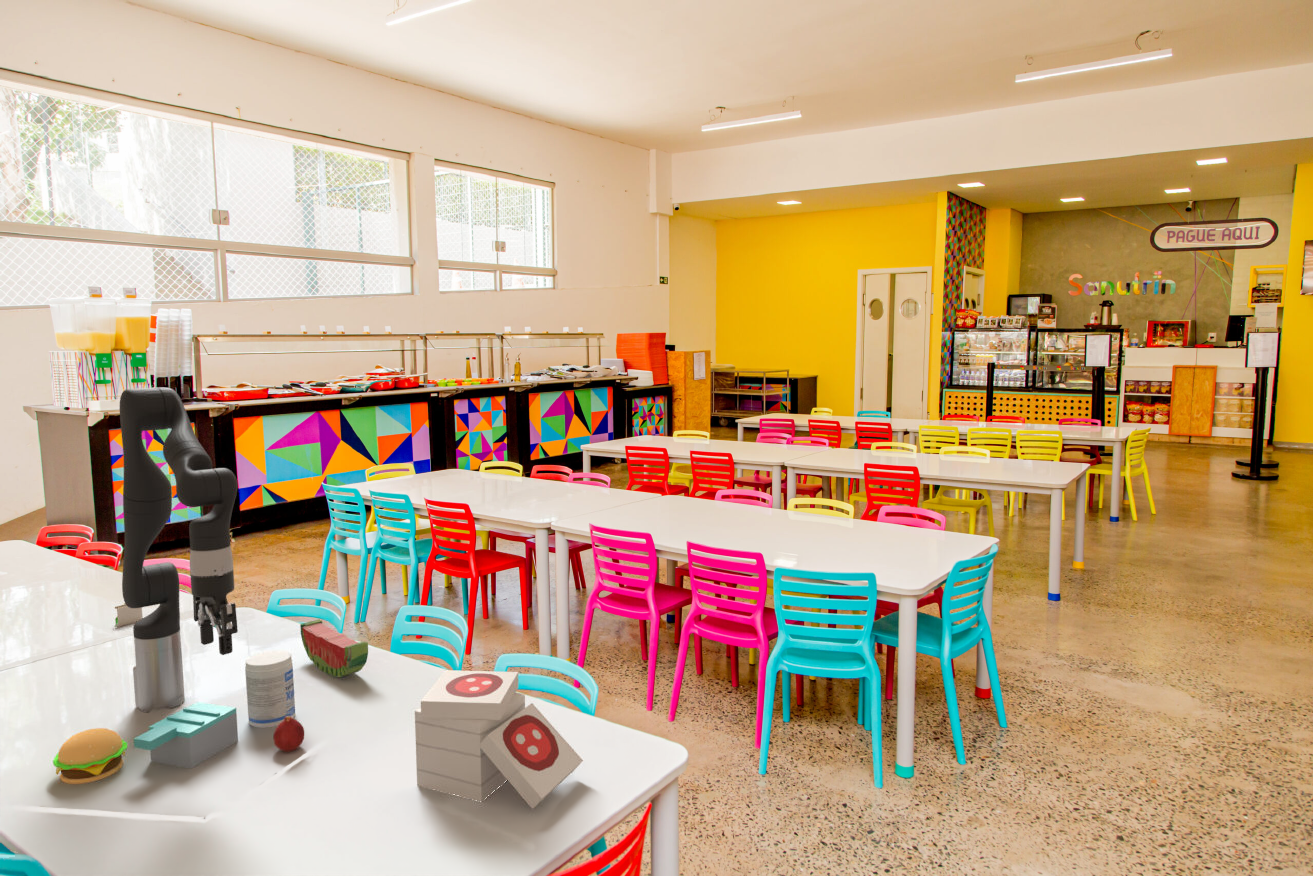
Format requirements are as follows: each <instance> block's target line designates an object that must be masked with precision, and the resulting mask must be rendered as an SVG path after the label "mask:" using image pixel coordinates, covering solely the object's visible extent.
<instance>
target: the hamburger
mask: <svg viewBox="0 0 1313 876" xmlns="http://www.w3.org/2000/svg"><path fill="white" fill-rule="evenodd" d="M127 749H128V742H127V741H125V740H124V739H123V738H122V737H121V736H120V735H119V733H118V732H116V731H114V730H111V729H109V728H106V727H105V728H104V727H101V728H100V727H97V728H89V729H86V730H83V731H80V732H77V733H76V734H74V735H72V736H70V737H69V738H68V739H67V740H65V742H63V744H62V745H61V746H60V748H59V749H58V752H57V753H56V755H55V756H54V758H53V760H52V763H53V766H54V767H55V774H56V776H57V775H59V773H60V776H59V778H60V780H61V781H62V782H63V783H65V784H71V785H78V784H81V785H82V784H87V783H92V782H96V781H100V780H103V779H105V778H107V777H110V776H112V775H113V774H116V773H117V772H118V771H119V770H121V768H122V767H123V764H124V760H123V756H124V757H125V756H126V752H125V751H126V750H127Z"/></svg>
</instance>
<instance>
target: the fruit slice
mask: <svg viewBox="0 0 1313 876" xmlns="http://www.w3.org/2000/svg"><path fill="white" fill-rule="evenodd" d="M299 628H300V635H301V641H302V645H303V647H304V650H305V652H306V655H307V657H308V659H309V660H310V661H312V663H313V664H314V665H315V666H316V668H317V669H318V670H319V671H321V672H323V673H324V672H325V673H324V674H326V673H327V674H326V675H329V676H333V677H334V678H343V677H345V676H348V675H349V676H350V675H353V674H355V673H358V672H360V671H361V670H363V668H364V667H365V665H366V663H367V659H368V656H369V643H368V642H367V641H366V642H365V641H361V642H358V641H356V640H355V639H352V638H349V637H347V635H345V634H344V633H341V632H338V631H336V630H334V629H332V628H330V627H329V626H326V625H325V624H323V620H321V619H320V618H319V619H316V620H312V621H308V622H307V621H306V622H302V623H300V627H299Z"/></svg>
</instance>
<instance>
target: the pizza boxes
mask: <svg viewBox="0 0 1313 876" xmlns="http://www.w3.org/2000/svg"><path fill="white" fill-rule="evenodd" d="M518 689H519V672H518V671H496V670H495V671H492V670H491V671H489V670H456V669H455V670H451V669H446V670H444V672H442V674H441V675H440V677H439V678H438V679H437V680H436V682H435V683H434V684H433V685H432V686H431V688H430V689H429V690H428V692H427V693H426V694H425V696H423V698H422V699H421V700H420V707H419V708H417V709H416V710H414V727H415V728H414V730H415V731H414V732H415V734H414V735H415V755H416V760H415V761H416V763H415V764H416V785H419V786H418V787H421V786H422V787H421V788H426V789H428V788H430V789H429V790H432V789H435V790H434V791H436V790H438V791H437V792H440V791H442V792H441V793H443V792H445V793H444V794H447V793H450V794H449V795H451V794H455V795H459V796H461V797H460V798H462V797H465V798H469V799H473V800H477V801H481V802H482V801H483V800H484V799H485V798H486V797H488V795H490V794H491V793H492V792H493V791H494V790H496V789H497V788H498V787H499V786H501V785H502V784H503V783H504V782H505V781H506V780H508V781H507V782H509V784H511V786H512V787H514V789H515V790H516V792H517V793H518V794H519V795H520V796H521V797H522V798H523V799H524V800H525V802H526V804H527V805H528V806H529V807H530V808H531V809H535V807H537V806H538V805H539V804H540V803H542V801H543V800H544V799H545V798H546V797H547V796H549V795H550V794H551V793H552V792H553V791H554V790H555V789H556V788H558V786H559V785H560V784H561V783H562V782H563V781H565V779H566V778H567V777H569V776H570V775H571V774H572V773H573V772H574V771H575V770H576V769H578V767H579V766H580V765H581V764H582V762H583V761H584V760H583V759H582V757H581V756H580V755H579V754H578V753H577V752H576V751H575V750H574V748H572V747H573V746H571V745H570V744H569V742H567V741H566V739H565V738H564V737H563V736H562V735H561V734H560V732H559V731H558V730H557V729H556V728H555V727H554V726H553V725H552V724H551V722H550V721H549V720H548V719H547V718H546V716H544V714H543V713H541V712H540V710H539V709H538V708H537V707H536V706H535V704H534V703H533V702H532V703H530V704H529V705H527V706H526V695H525V693H518V692H517V690H518ZM503 785H504V784H503ZM503 785H502V786H503ZM502 786H501V787H502ZM497 790H498V789H497ZM497 790H496V791H497ZM491 795H492V794H491ZM491 795H490V796H491ZM465 798H464V799H465ZM488 798H489V797H488ZM469 799H468V800H469ZM473 800H472V801H473ZM477 801H476V802H477ZM484 801H485V800H484ZM484 801H483V802H484ZM483 802H482V803H483Z"/></svg>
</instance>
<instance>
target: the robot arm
mask: <svg viewBox="0 0 1313 876" xmlns="http://www.w3.org/2000/svg"><path fill="white" fill-rule="evenodd" d="M119 420H120V422H119V423H120V431H121V441H122V443H121V444H122V453H123V486H122V504H123V505H122V506H123V507H122V509H123V511H122V512H123V528H124V529H123V530H124V548H123V549H124V551H123V564H122V565H123V566H122V575H121V576H122V579H121V580H122V581H121V587H122V588H121V589H122V598H123V603H125V604H126V605H127V606H128V607H129V608H141V607H142V608H146V607H152V606H156V605H158V607H157V608H156V609H155V610H153V611H152V612H151V613H150V614H148V615H146V616H144V617H142V619H141V620H139V621H137V622H134V624H133V627H132V628H133V630H132V632H133V643H134V656H135V657H134V658H135V666H133V668H132V675H133V677H132V678H133V689H134V702H135V708H138V709H139V710H140V711H141V712H144V713H151V712H152V711H155V710H162V709H169V710H171V709H174V708H176V707H178V706H180V705H182V704H183V703H184V702H185V699H186V697H185V685H184V683H185V682H184V681H185V680H184V668H183V667H184V666H183V651H182V650H183V649H182V640H181V639H182V637H181V636H182V635H181V616H180V615H181V612H180V575H179V572H178V569H177V566H176V565H174V564H173V563H172V562H161V563H155V564H149V565H144V562H145V559H146V555H147V553H148V551H149V549H150V547H151V546H152V544H153V542H154V541H155V540H156V538H157V537H158V535H159V534H160V533H161V532H162V530H163V529H164V527H165V525H166V524H167V523H168V521H169V519H170V518H171V515H172V511H173V510H172V509H173V508H172V507H173V506H172V505H173V503H172V502H173V499H172V497H173V495H172V494H173V489H172V487H173V486H172V484H171V481H170V480H169V478H168V476H167V475H166V474H165V472H163V470H162V469H161V468H160V467H159V465H158V464H157V463H156V462H155V461H154V460H153V458H152V457H151V456H150V453H149V451H147V450H146V447H145V445H144V441H143V436H142V435H143V432H146V431H147V432H148V431H160V430H161V431H163V430H167V429H170V431H169V433H168V435H167V436H166V438H165V440H164V442H163V445H162V454H163V457H164V460H165V462H166V464H167V465H168V466H169V468H170V469H171V471H172V472H173V475H174V478H175V491H176V497H177V499H178V501H179V502H180V504H182V505H184V506H185V507H189V508H199V507H206V506H213V507H212V509H211V510H210V512H208V513H207V514H205V515H202V516H199V517H197V518H195V519H193V520H191V521H190V523H189V526H188V531H189V547H190V551H189V553H190V554H189V571H190V588H191V589H190V590H191V594H192V605H193V620H194V621H195V622H197V625H198V627H199V631H200V644H202V645H203V646H206V645H208V644H209V645H210V644H212V643H214V639H215V638H214V628H215V629H216V632H217V636H218V649H219V652H218V653H219V655H221V656H224V655H225V656H226V655H229V654H231V653H232V652H233V637H232V635H233V634H237V633H238V619H237V618H238V617H237V608H236V607H237V606H236V603H235V602H232V603H229V602H228V598H227V596H228V595H229V594H230V593H232V592H233V591H234V590H235V576H234V574H235V573H234V572H235V571H234V558H233V552H232V546H231V533H230V532H231V530H230V526H231V519H232V513H233V510H234V505H235V500H236V498H237V493H238V480H237V477H236V475H235V474H234V472H233V471H232V470H230V469H229V468H227V467H217V468H216V467H215V468H213V462H212V459H211V457H210V455H209V454H208V453H207V451H206V450H205V447H203V445H202V444H201V443H200V442H199V440H198V438H197V436H196V435H195V431H194V429H193V426H192V424H191V420H190V418H189V415H188V413H187V410H186V408H185V405H184V403H183V401H182V398H181V397H180V395H179V394H178V393H177V391H175V389H173V388H170V387H162V386H161V387H160V386H159V387H158V386H157V387H139V388H136V387H135V388H127V389H125V390H123V391H122V393H121V395H120V398H119ZM183 701H184V702H183ZM182 702H183V703H182ZM181 703H182V704H181ZM179 704H180V705H179ZM177 705H178V706H177ZM175 706H176V707H175ZM173 707H174V708H173Z"/></svg>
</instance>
